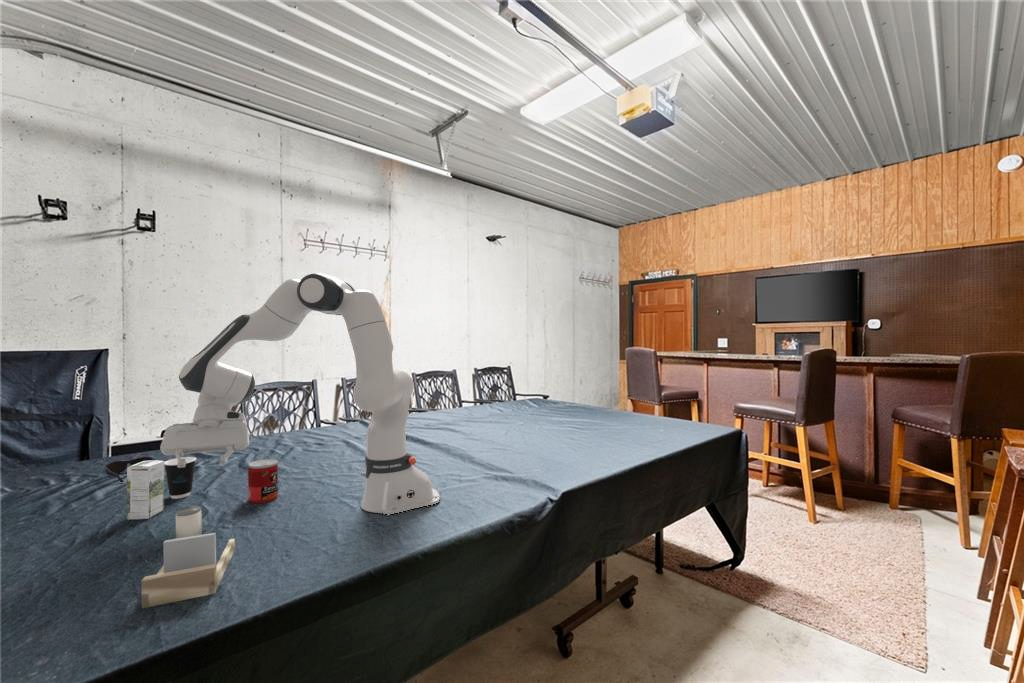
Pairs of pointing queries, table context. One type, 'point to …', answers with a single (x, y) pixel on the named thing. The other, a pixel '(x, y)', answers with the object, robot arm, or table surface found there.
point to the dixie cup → (180, 477)
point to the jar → (188, 522)
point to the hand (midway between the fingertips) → (202, 464)
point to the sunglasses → (123, 466)
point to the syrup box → (145, 489)
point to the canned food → (262, 480)
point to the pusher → (189, 552)
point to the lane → (185, 581)
